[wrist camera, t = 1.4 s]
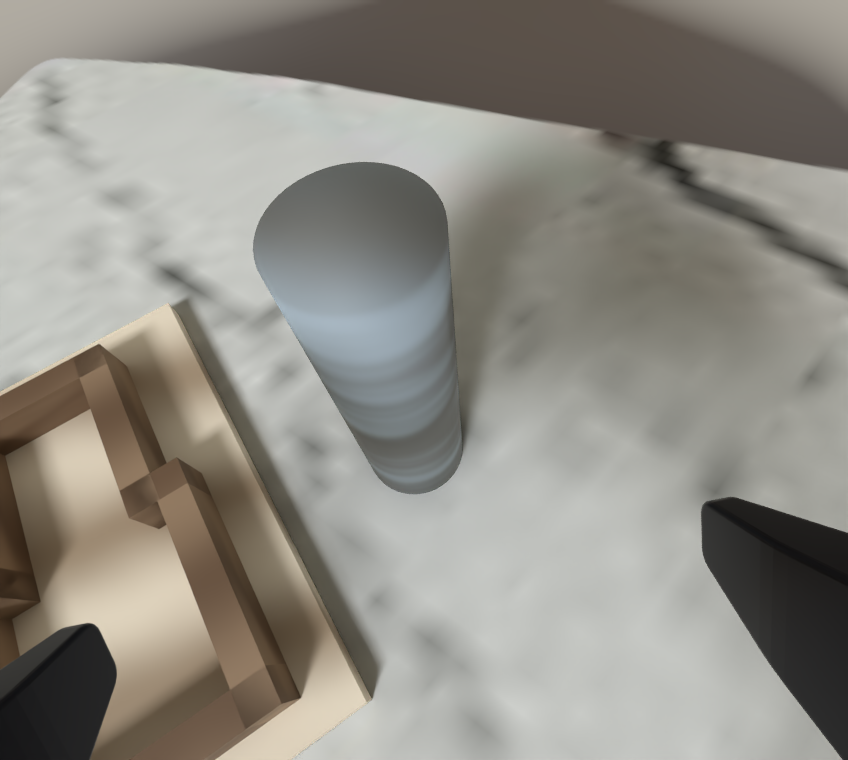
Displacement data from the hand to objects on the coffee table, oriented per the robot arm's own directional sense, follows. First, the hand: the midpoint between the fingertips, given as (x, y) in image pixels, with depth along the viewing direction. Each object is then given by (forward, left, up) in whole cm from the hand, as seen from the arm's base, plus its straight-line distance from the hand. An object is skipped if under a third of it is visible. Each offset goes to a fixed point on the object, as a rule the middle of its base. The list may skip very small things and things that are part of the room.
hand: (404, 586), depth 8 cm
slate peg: (+7, +2, -13) cm, 14 cm away
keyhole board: (+1, +14, -13) cm, 19 cm away
